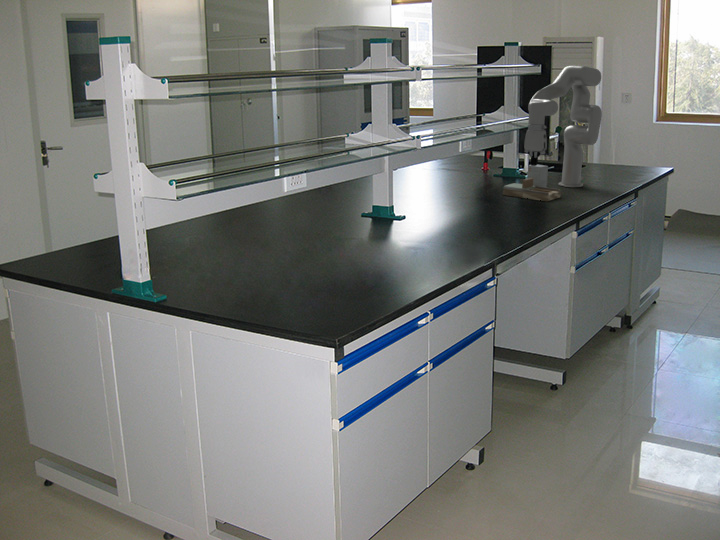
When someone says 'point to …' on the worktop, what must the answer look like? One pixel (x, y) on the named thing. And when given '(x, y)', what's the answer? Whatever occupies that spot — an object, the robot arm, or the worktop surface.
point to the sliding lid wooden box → (533, 193)
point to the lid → (523, 184)
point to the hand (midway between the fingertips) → (534, 165)
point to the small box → (538, 175)
